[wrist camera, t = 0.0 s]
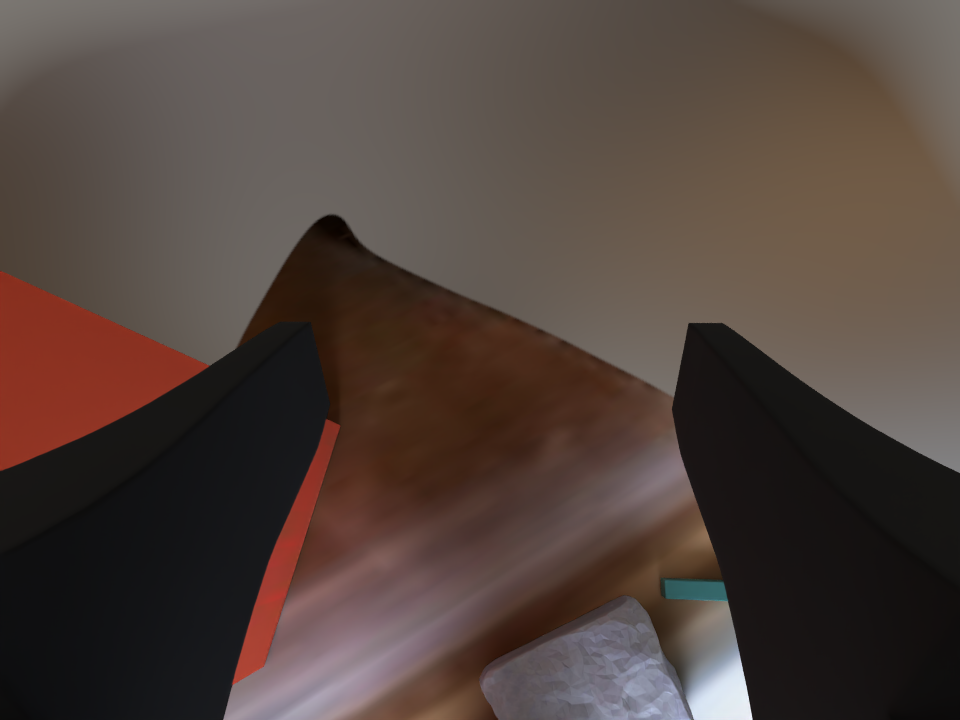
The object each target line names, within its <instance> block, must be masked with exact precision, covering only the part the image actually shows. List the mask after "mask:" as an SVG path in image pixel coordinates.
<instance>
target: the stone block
mask: <svg viewBox="0 0 960 720" xmlns="http://www.w3.org/2000/svg"><path fill="white" fill-rule="evenodd" d="M479 681H480V686H481V689H482V691H483V693H484V696H485V698H486V700H487V702H488V703H489V704H490V705H491V706H492V708H493V710H494V713H495V715H496V717H497V718H498V719H499V720H694V719H693V716H692V713H691V710H690V708H689V705H688V702H687V700H686V696H685V694H684V693H683V691H682V688H681V682H680V680H679V678H678V676H677V673H676V670H675V668H674V667H673V666H672V665H671V663H670V662H669V661H668V660H667V659H666V657H665V655H664V653H663V652H662V650H661V647H660V645H659V640H658V637H657V634H656V631H655V629H654V627H653V624H652V622H651V619H650V617H649V615H648V613H647V611H646V610H645V609H644V608H643V607H642V606H641V605H640V603H639V602H638V601H637V600H636V599H635V598H632V597H630V596H625V595H623V596H620V597H618V598H617V599H615V600H612V601H610V602H608V603H606V604H604V605H602V606H601V607H599V608H597V609H595V610H593V611H590V612H588V613H586V614H585V615H583V616H581V617H579V618H577V619H575V620H573V621H571V622H569V623H567V624H565V625H562V626H560V627H559V628H557V629H555V630H553V631H551V632H549V633H547V634H545V635H543V636H541V637H539V638H537V639H535V640H533V641H531V642H530V643H528V644H526V645H523V646H521V647H519V648H517V649H515V650H513V651H511V652H509V653H507V654H505V655H503V656H501V657H499V658H497V659H495V660H494V661H492V662H491V663H490V664H488V665H487V666H486V667H485V668H484V670H483V672H482V674H481V676H480V678H479Z"/></svg>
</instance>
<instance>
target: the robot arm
mask: <svg viewBox="0 0 960 720" xmlns="http://www.w3.org/2000/svg"><path fill="white" fill-rule="evenodd" d="M329 406H330V402H329V397H328V393H327V389H326V385H325V380H324V376H323V372H322V368H321V364H320V359H319V355H318V351H317V347H316V342H315V338H314V334H313V330H312V325H311V322H279V323H277V324H275V325H273V326H272V327H270V328H268V329H266V330H265V331H263V332H261V333H260V334H258V335H257V336H255V337H253V338H252V339H250V340H249V341H247V342H246V343H244V344H243V345H241V346H240V347H238V348H237V349H235V350H234V351H232V352H230V353H229V354H227V355H226V356H224V357H223V358H221V359H220V360H218V361H217V362H215V363H214V364H212V365H211V366H209V367H207V368H206V369H204V370H203V371H201V372H200V373H198V374H197V375H195V376H193V377H192V378H190V379H188V380H187V381H185V382H183V383H182V384H180V385H178V386H177V387H175V388H173V389H172V390H170V391H168V392H167V393H165V394H163V395H162V396H160V397H158V398H157V399H155V400H153V401H152V402H150V403H148V404H146V405H144V406H143V407H141V408H139V409H137V410H135V411H133V412H131V413H130V414H128V415H126V416H124V417H122V418H120V419H118V420H116V421H114V422H112V423H110V424H108V425H106V426H104V427H102V428H100V429H98V430H96V431H94V432H92V433H90V434H87V435H85V436H83V437H81V438H79V439H77V440H74V441H72V442H69V443H67V444H65V445H62V446H60V447H58V448H55V449H53V450H51V451H48V452H46V453H44V454H41V455H39V456H36V457H34V458H32V459H29V460H27V461H25V462H22V463H20V464H17V465H15V466H12V467H10V468H7V469H4V470H2V471H0V720H223V718H224V715H225V711H226V707H227V703H228V699H229V695H230V691H231V688H232V684H233V680H234V676H235V672H236V668H237V665H238V661H239V658H240V654H241V651H242V647H243V644H244V640H245V637H246V633H247V630H248V626H249V623H250V620H251V616H252V613H253V609H254V606H255V603H256V600H257V597H258V594H259V591H260V587H261V584H262V581H263V578H264V575H265V572H266V569H267V566H268V563H269V560H270V558H271V555H272V552H273V550H274V547H275V545H276V542H277V540H278V538H279V535H280V533H281V531H282V529H283V526H284V524H285V522H286V520H287V517H288V515H289V513H290V511H291V508H292V506H293V504H294V502H295V499H296V497H297V495H298V493H299V490H300V488H301V486H302V484H303V481H304V479H305V477H306V475H307V472H308V470H309V468H310V465H311V463H312V461H313V458H314V456H315V454H316V451H317V449H318V446H319V443H320V440H321V436H322V433H323V429H324V426H325V422H326V418H327V414H328V410H329ZM672 412H673V417H674V423H675V429H676V434H677V439H678V444H679V449H680V453H681V457H682V460H683V463H684V466H685V469H686V472H687V475H688V477H689V480H690V483H691V486H692V489H693V492H694V495H695V498H696V501H697V503H698V506H699V509H700V512H701V515H702V518H703V520H704V523H705V526H706V529H707V532H708V535H709V538H710V540H711V543H712V546H713V549H714V552H715V555H716V558H717V561H718V564H719V568H720V571H721V574H722V578H723V582H724V586H725V590H726V594H727V599H728V603H729V607H730V612H731V616H732V620H733V625H734V629H735V633H736V638H737V643H738V648H739V652H740V657H741V662H742V667H743V672H744V676H745V681H746V686H747V691H748V696H749V702H750V707H751V712H752V718H753V720H960V473H958V472H956V471H954V470H952V469H950V468H948V467H946V466H943V465H942V464H940V463H938V462H936V461H934V460H932V459H930V458H928V457H926V456H924V455H922V454H920V453H918V452H916V451H914V450H912V449H911V448H909V447H907V446H905V445H904V444H902V443H900V442H898V441H896V440H894V439H893V438H891V437H889V436H887V435H885V434H884V433H882V432H880V431H878V430H876V429H875V428H873V427H871V426H870V425H868V424H866V423H865V422H863V421H861V420H860V419H858V418H856V417H855V416H853V415H852V414H850V413H849V412H847V411H845V410H844V409H842V408H841V407H839V406H838V405H836V404H835V403H833V402H832V401H830V400H829V399H827V398H825V397H824V396H823V395H821V394H820V393H818V392H817V391H815V390H814V389H812V388H811V387H809V386H808V385H807V384H805V383H804V382H802V381H801V380H799V379H798V378H797V377H795V376H794V375H793V374H791V373H790V372H789V371H787V370H786V369H785V368H783V367H782V366H780V365H779V364H778V363H776V362H775V361H774V360H772V359H771V358H770V357H768V356H767V355H766V354H764V353H763V352H762V351H761V350H759V349H758V348H757V347H755V346H754V345H753V344H751V343H750V342H749V341H747V340H746V339H745V338H743V337H742V336H741V335H739V334H738V333H736V332H735V331H734V330H732V329H731V328H729V327H728V326H726V325H725V324H723V323H689V324H688V329H687V335H686V340H685V345H684V350H683V355H682V360H681V365H680V370H679V376H678V381H677V386H676V391H675V396H674V401H673V406H672Z"/></svg>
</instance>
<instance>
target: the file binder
mask: <svg viewBox="0 0 960 720" xmlns="http://www.w3.org/2000/svg"><path fill="white" fill-rule="evenodd" d="M207 367H209V365H207V364H204V363H202V362H200V361H198V360H196V359H193V358H191V357H189V356H187V355H185V354H182V353H180V352H178V351H176V350H174V349H171V348H169V347H167V346H165V345H163V344H160V343H158V342H156V341H154V340H152V339H149V338H147V337H145V336H143V335H141V334H138V333H136V332H134V331H132V330H130V329H127V328H125V327H123V326H121V325H118V324H116V323H114V322H112V321H110V320H108V319H105V318H103V317H101V316H99V315H97V314H94V313H92V312H90V311H88V310H86V309H83V308H81V307H79V306H77V305H75V304H72V303H70V302H68V301H66V300H64V299H61V298H59V297H57V296H55V295H53V294H50V293H48V292H46V291H44V290H42V289H39V288H37V287H35V286H33V285H31V284H28V283H26V282H24V281H22V280H20V279H17V278H15V277H13V276H11V275H9V274H7V273H4V272H2V271H0V471H2V470H4V469H7V468H10V467H12V466H15V465H17V464H20V463H22V462H25V461H27V460H29V459H32V458H34V457H36V456H39V455H41V454H44V453H46V452H48V451H51V450H53V449H55V448H58V447H60V446H62V445H65V444H67V443H69V442H72V441H74V440H77V439H79V438H81V437H83V436H85V435H87V434H90V433H92V432H94V431H96V430H98V429H100V428H102V427H104V426H106V425H108V424H110V423H112V422H114V421H116V420H118V419H120V418H122V417H124V416H126V415H128V414H130V413H131V412H133V411H135V410H137V409H139V408H141V407H143V406H144V405H146V404H148V403H150V402H152V401H153V400H155V399H157V398H158V397H160V396H162V395H163V394H165V393H167V392H168V391H170V390H172V389H173V388H175V387H177V386H178V385H180V384H182V383H183V382H185V381H187V380H188V379H190V378H192V377H193V376H195V375H197V374H198V373H200V372H201V371H203V370H204V369H206V368H207ZM340 426H341V425H338V424H336V423H334V422H332V421H330V420H327V419H326V422H325V426H324V429H323V433H322V436H321V440H320V443H319V446H318V449H317V451H316V454H315V456H314V458H313V461H312V463H311V465H310V468H309V470H308V472H307V475H306V477H305V479H304V481H303V484H302V486H301V488H300V490H299V493H298V495H297V497H296V499H295V502H294V504H293V506H292V508H291V511H290V513H289V515H288V517H287V520H286V522H285V524H284V526H283V529H282V531H281V533H280V535H279V538H278V540H277V542H276V545H275V547H274V550H273V552H272V555H271V558H270V560H269V563H268V566H267V569H266V572H265V575H264V578H263V581H262V584H261V587H260V591H259V594H258V597H257V600H256V603H255V606H254V609H253V613H252V616H251V620H250V623H249V626H248V630H247V633H246V637H245V640H244V644H243V647H242V651H241V654H240V658H239V661H238V665H237V668H236V672H235V676H234V680H233V684H235V683H236V682H238V681H240V680H242V679H243V678H245V677H247V676H248V675H250V674H252V673H253V672H255V671H257V670H259V669H260V668H262V667H264V665H265V661H266V658H267V655H268V652H269V649H270V646H271V643H272V639H273V636H274V633H275V630H276V627H277V624H278V621H279V617H280V614H281V611H282V608H283V605H284V602H285V599H286V595H287V592H288V589H289V586H290V583H291V580H292V577H293V573H294V570H295V567H296V564H297V561H298V558H299V555H300V551H301V548H302V545H303V542H304V539H305V536H306V532H307V529H308V526H309V523H310V520H311V517H312V514H313V510H314V507H315V504H316V501H317V498H318V495H319V492H320V488H321V485H322V482H323V479H324V476H325V473H326V470H327V466H328V463H329V460H330V457H331V454H332V451H333V448H334V444H335V441H336V438H337V435H338V432H339V429H340ZM233 684H232V685H233Z"/></svg>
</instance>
